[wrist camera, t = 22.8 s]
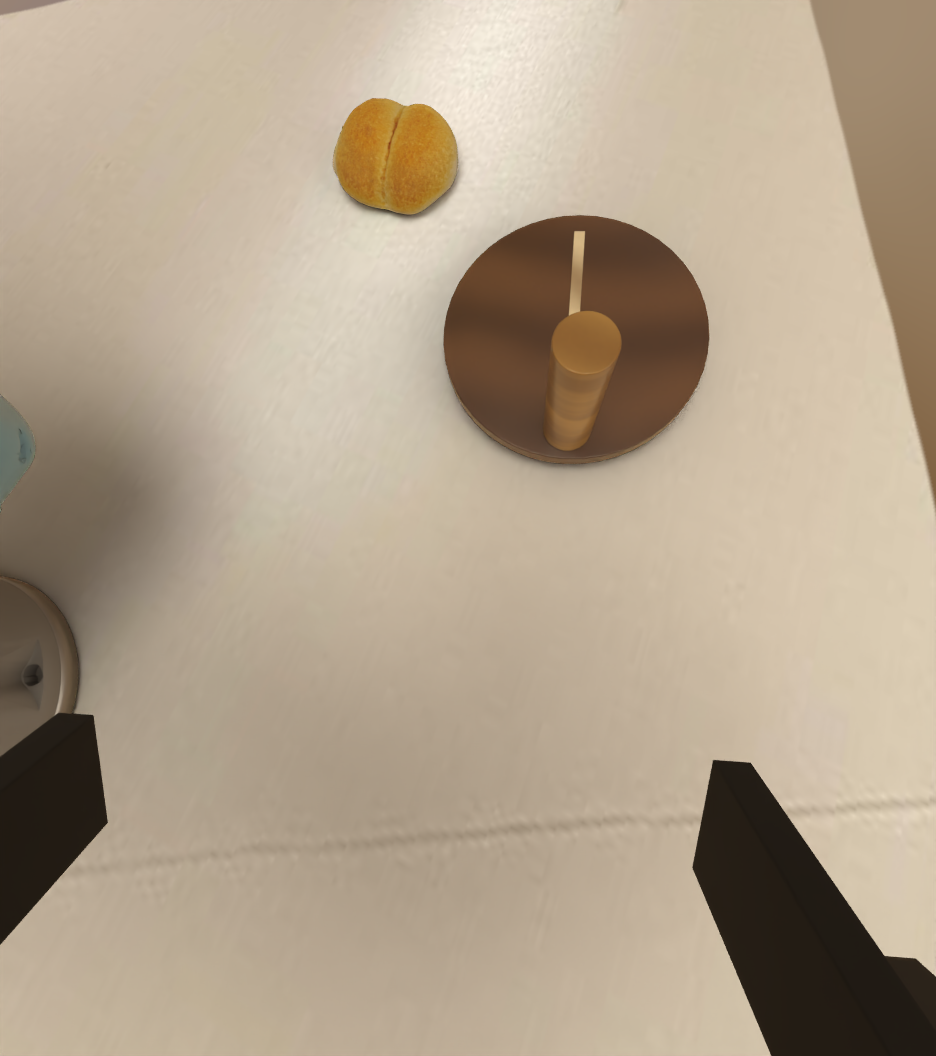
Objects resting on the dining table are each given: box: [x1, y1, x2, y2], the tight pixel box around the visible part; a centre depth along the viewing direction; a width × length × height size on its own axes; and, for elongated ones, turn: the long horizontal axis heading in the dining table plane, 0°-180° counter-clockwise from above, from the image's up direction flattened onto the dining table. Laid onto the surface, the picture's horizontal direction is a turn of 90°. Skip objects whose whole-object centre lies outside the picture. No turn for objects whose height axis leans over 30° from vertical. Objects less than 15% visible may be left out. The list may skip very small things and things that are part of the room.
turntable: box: [444, 215, 709, 464], centre depth 31 cm, size 17×17×12 cm
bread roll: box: [333, 98, 458, 214], centre depth 40 cm, size 8×9×4 cm
